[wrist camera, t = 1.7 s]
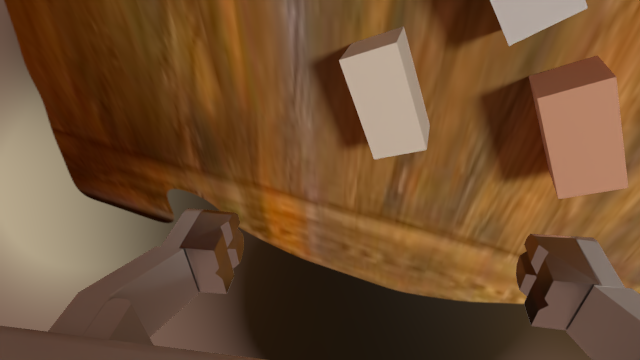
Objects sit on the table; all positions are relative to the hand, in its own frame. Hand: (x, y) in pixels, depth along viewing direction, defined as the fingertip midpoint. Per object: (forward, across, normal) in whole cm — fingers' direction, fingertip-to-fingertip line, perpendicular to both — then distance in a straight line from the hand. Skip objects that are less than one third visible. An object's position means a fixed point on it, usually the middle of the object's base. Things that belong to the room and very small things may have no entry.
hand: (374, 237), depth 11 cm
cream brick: (+28, -1, +7) cm, 29 cm away
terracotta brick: (+26, -17, +9) cm, 32 cm away
